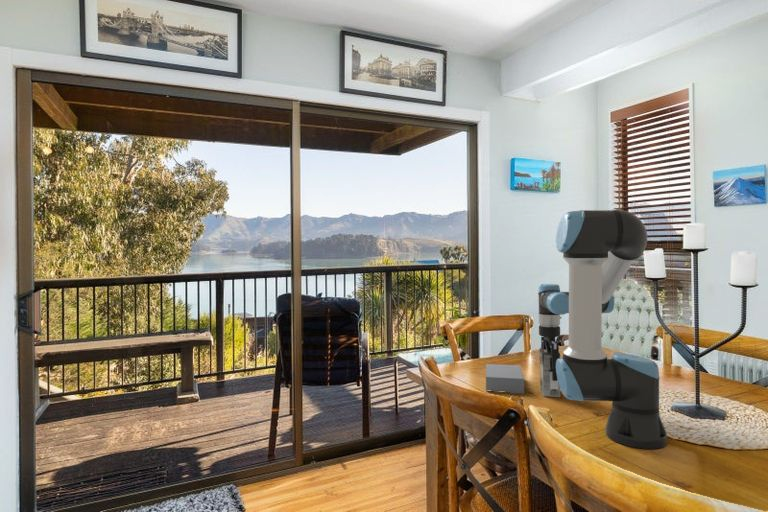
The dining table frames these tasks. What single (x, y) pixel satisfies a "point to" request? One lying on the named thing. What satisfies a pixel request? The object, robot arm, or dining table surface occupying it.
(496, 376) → the grey flat block
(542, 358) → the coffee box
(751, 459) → the dining table surface
